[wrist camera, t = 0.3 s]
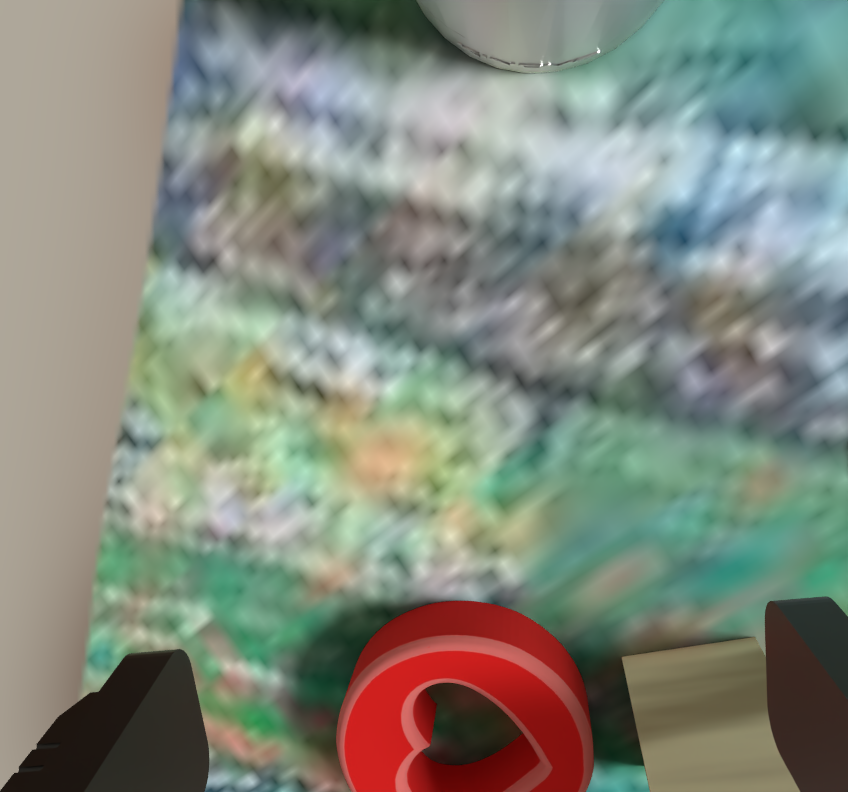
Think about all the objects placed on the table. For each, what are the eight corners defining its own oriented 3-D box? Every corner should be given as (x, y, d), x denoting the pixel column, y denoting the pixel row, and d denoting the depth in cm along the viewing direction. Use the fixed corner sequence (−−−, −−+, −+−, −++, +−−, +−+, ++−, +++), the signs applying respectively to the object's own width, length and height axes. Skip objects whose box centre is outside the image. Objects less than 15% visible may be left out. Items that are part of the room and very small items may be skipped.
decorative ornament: (614, 779, 33) (624, 839, 30) (393, 822, 35) (381, 883, 32) (549, 571, 31) (552, 614, 28) (318, 628, 33) (297, 673, 30)
